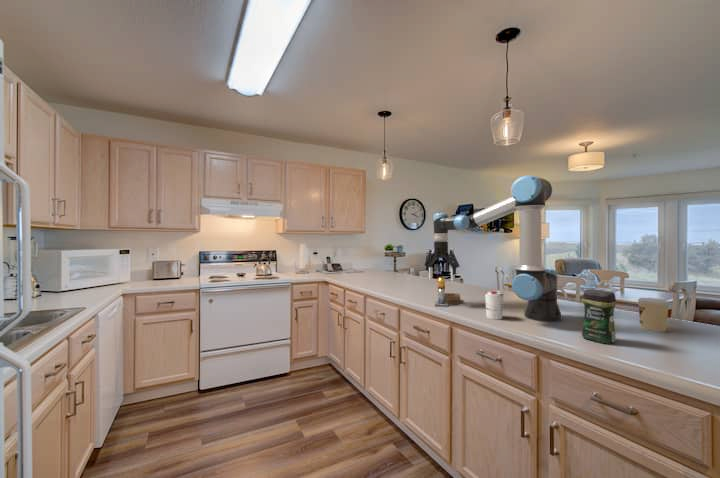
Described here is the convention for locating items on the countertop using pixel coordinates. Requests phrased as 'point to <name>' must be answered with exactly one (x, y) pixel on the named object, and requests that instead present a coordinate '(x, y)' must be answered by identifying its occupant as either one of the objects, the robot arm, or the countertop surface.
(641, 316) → the coffee cup
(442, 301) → the gold and silver cylinder
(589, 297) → the coffee jar
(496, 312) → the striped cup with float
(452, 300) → the socket block
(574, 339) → the countertop surface
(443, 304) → the rest mat
